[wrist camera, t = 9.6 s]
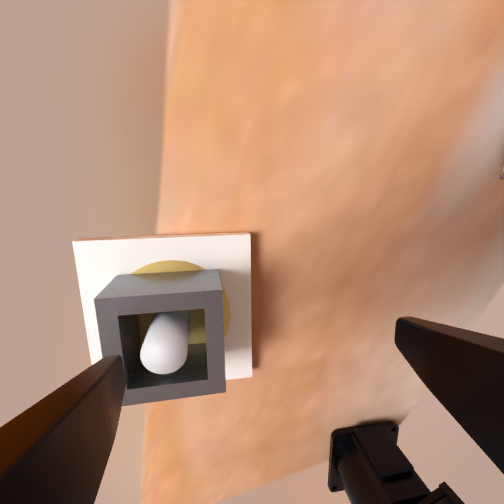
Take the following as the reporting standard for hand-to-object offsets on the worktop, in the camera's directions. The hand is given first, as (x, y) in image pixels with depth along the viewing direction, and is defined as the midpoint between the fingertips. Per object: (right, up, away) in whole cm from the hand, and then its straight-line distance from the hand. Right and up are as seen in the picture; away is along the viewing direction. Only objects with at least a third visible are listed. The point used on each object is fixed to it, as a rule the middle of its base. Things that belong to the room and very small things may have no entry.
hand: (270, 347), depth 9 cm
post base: (-6, -1, +11) cm, 13 cm away
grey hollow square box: (-6, -1, +10) cm, 12 cm away
